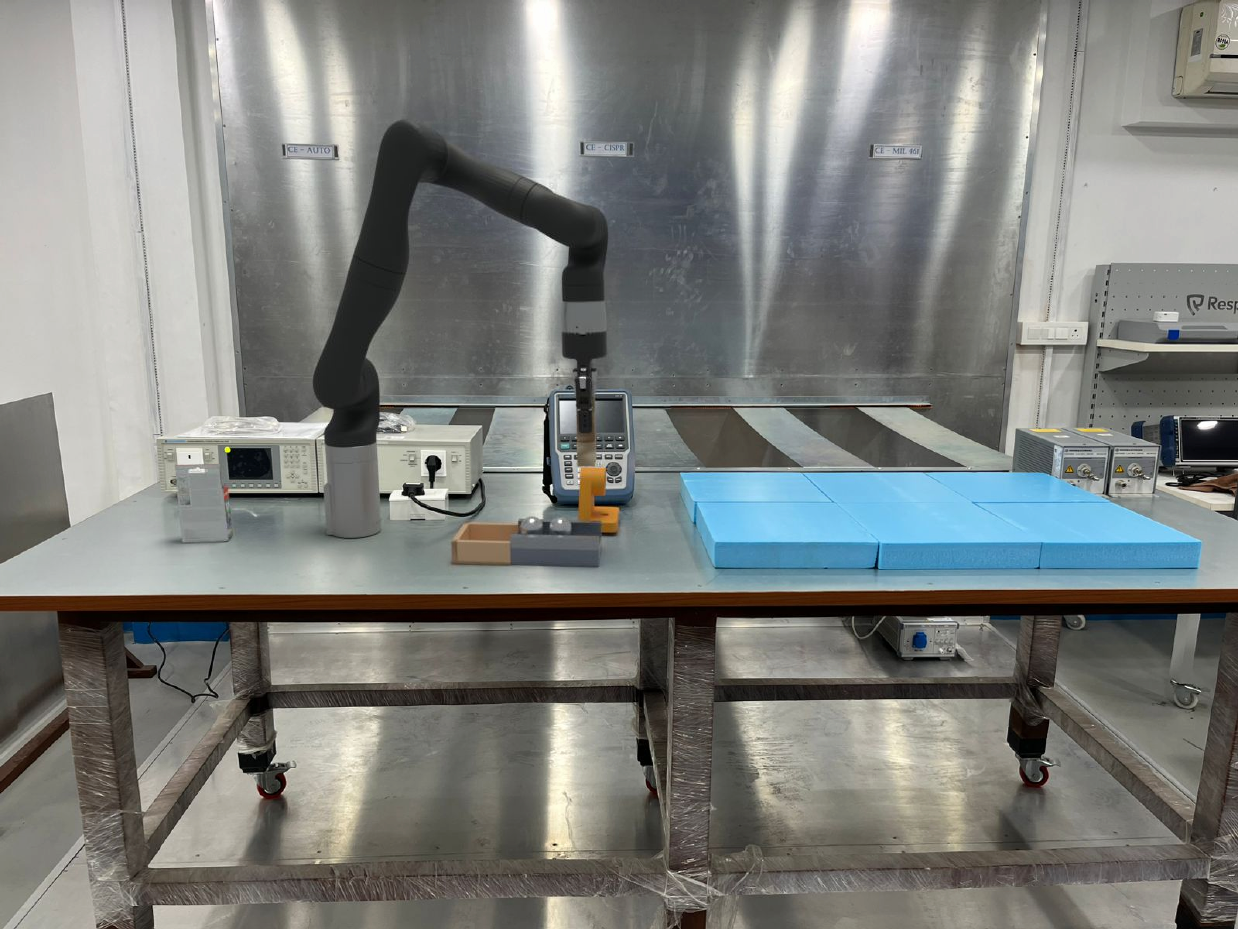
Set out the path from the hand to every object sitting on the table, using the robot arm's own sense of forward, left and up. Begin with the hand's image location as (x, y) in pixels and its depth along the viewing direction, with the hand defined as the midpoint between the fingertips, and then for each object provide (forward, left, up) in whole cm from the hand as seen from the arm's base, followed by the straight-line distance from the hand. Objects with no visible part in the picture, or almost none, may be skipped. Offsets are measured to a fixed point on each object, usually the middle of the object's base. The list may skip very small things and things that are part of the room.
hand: (586, 429), depth 144 cm
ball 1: (-9, -1, -19) cm, 22 cm away
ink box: (-69, +3, -23) cm, 73 cm away
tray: (-17, -1, -22) cm, 28 cm away
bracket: (+2, +16, -23) cm, 28 cm away
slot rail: (-5, -1, -22) cm, 23 cm away
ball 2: (-4, -1, -19) cm, 20 cm away
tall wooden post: (0, 0, -6) cm, 6 cm away
